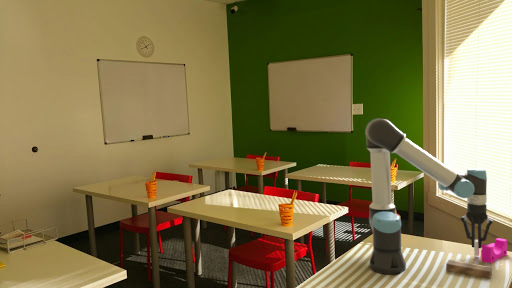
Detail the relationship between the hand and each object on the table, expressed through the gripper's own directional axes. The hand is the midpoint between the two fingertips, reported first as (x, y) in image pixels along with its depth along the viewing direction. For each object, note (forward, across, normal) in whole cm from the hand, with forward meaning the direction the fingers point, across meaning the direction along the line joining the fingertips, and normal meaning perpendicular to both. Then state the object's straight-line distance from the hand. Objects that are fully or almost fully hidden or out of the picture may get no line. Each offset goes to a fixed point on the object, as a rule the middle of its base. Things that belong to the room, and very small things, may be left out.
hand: (476, 254), depth 181 cm
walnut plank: (+1, 0, -20) cm, 20 cm away
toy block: (+2, +5, +3) cm, 6 cm away
